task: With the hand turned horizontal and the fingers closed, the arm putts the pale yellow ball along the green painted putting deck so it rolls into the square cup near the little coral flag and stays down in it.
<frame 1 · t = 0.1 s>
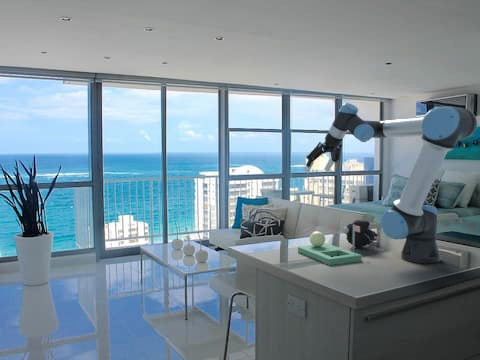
hand: (316, 171, 205), 36 cm above the table, tool tilted 35°, fingers open, 13 cm apart
green: (328, 256, 181), on the table
ball: (317, 239, 188), point 6 cm above the table, touching green
figurine: (357, 248, 199), on the table
flagpost: (353, 256, 180), on the table
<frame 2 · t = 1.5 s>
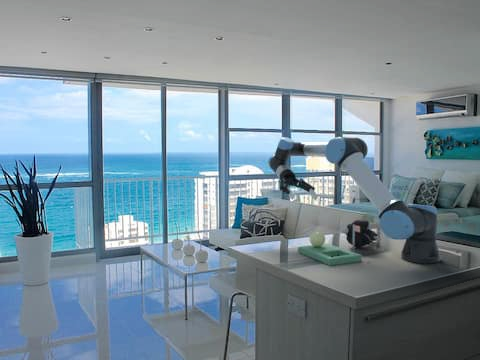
hand: (305, 197, 201), 23 cm above the table, tool tilted 60°, fingers open, 13 cm apart
nothing on the table moved.
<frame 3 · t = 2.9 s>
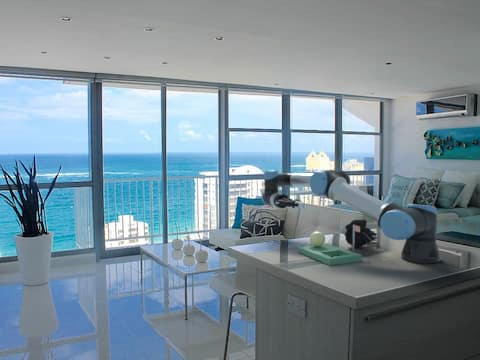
hand: (303, 205, 198), 20 cm above the table, tool horizontal, fingers closed
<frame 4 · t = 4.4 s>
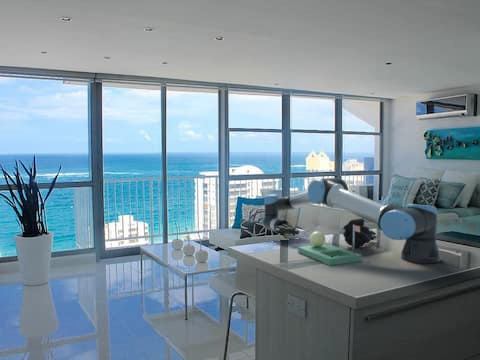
hand: (303, 233, 199), 6 cm above the table, tool horizontal, fingers closed
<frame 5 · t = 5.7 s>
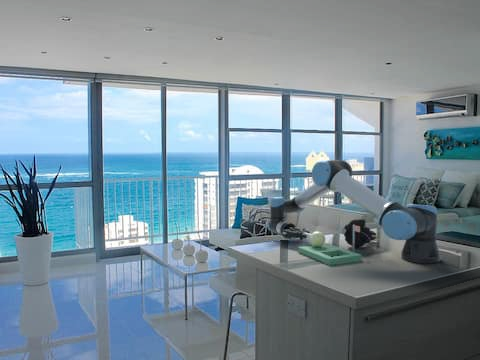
hand: (311, 237, 191), 6 cm above the table, tool horizontal, fingers closed
ball: (317, 239, 188), point 6 cm above the table, touching gripper
everything else where it was.
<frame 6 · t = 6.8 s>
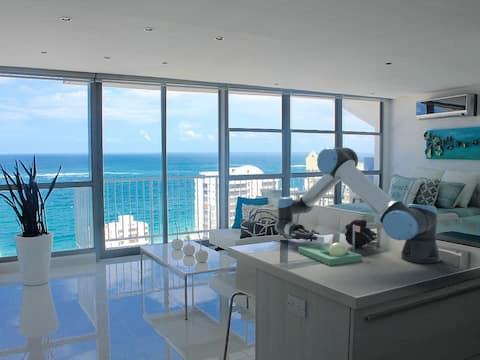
hand: (322, 239, 184), 7 cm above the table, tool horizontal, fingers closed
ball: (337, 251, 175), point 4 cm above the table, tilted 110°
everything else where it was.
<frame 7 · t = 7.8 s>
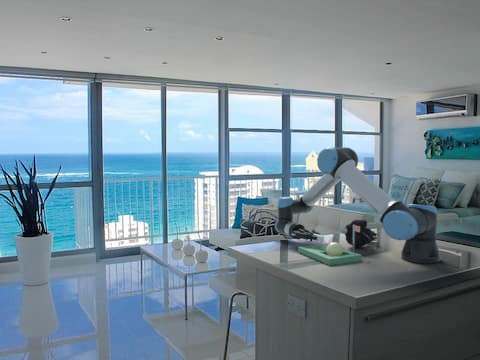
hand: (322, 239, 184), 7 cm above the table, tool horizontal, fingers closed
ball: (334, 250, 177), point 3 cm above the table, tilted 141°
everything else where it was.
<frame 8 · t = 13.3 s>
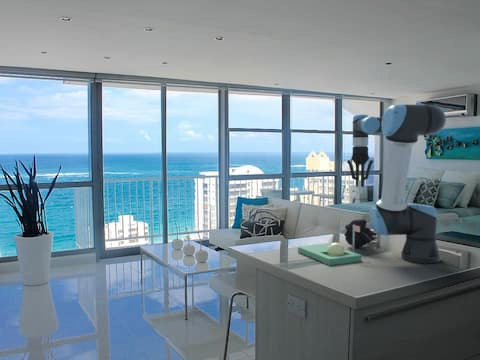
hand: (359, 193, 209), 24 cm above the table, tool pointing down, fingers closed
ball: (335, 250, 176), point 3 cm above the table, tilted 128°
everything else where it was.
at the end: ball inside the target area (0.3 cm from its centre), point 3.5 cm above the table; ball moved 13.7 cm from its start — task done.
